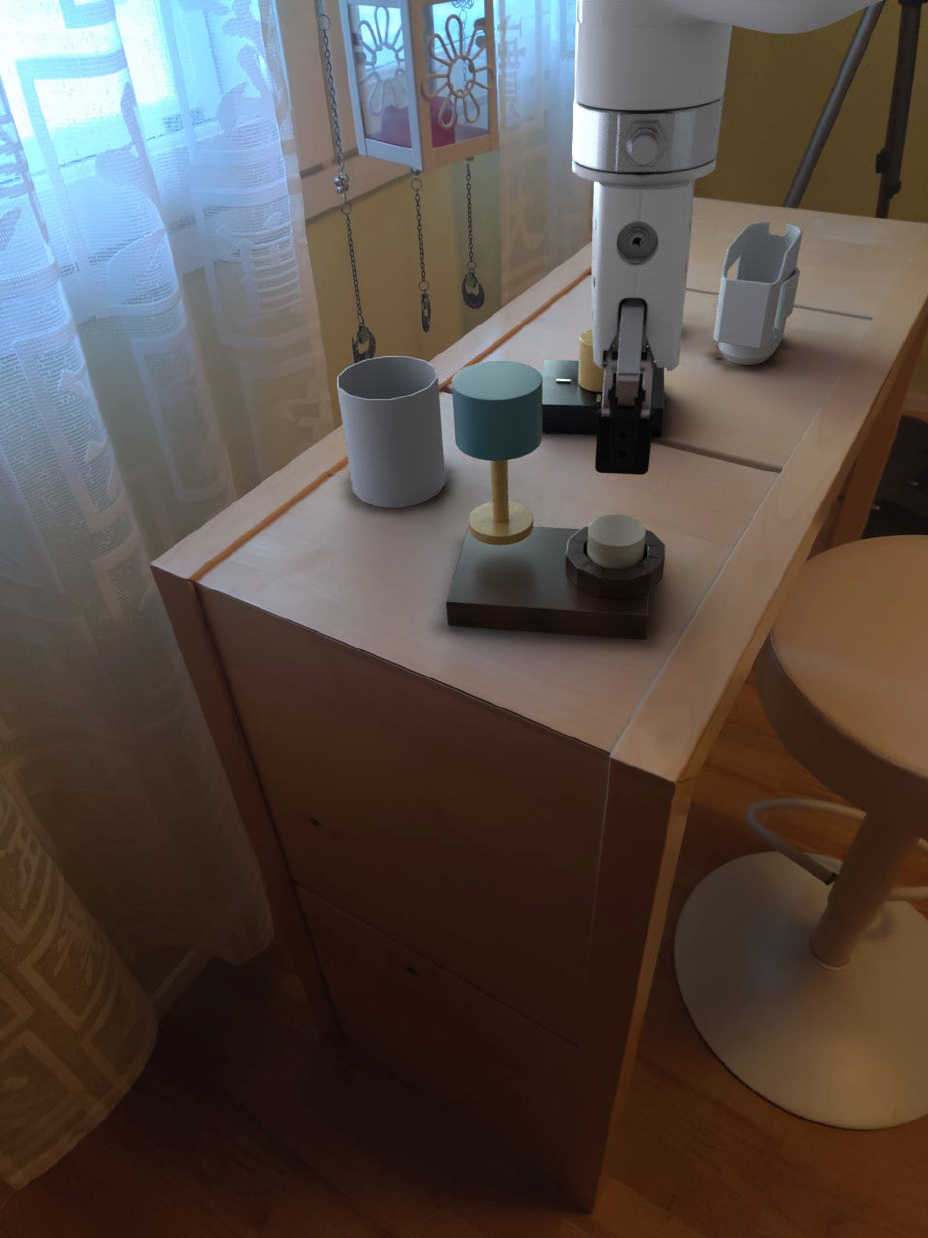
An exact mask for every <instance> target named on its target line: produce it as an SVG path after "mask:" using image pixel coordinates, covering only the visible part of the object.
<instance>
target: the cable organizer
mask: <svg viewBox="0 0 928 1238" xmlns="http://www.w3.org/2000/svg"><path fill="white" fill-rule="evenodd" d="M770 224H771V222H770V221H759V222H754V223H750V224H747V225H745V226H744V227H743V229H742V230H741V231H740V232H739V233H738V235H737V236H736V237H735V238H734V239H733V240H732V242H731V243H730V244H729V245H728V246H727V250H726V254H725V258H724V262H723V265H722V271H721V277H720V284H719V293H718V302H717V308H716V315H715V323H714V330H713V340H715V342H717V343H718V349H719V350H720V352H721V353H722V355H723V356H724V357H725V358H726V360H728V362H730V363H733V364H737V365H743V366H753V365H758V364H762V363H764V362H765V361H766V360H768V359H769V358H770V357H771V356H772V355H773V354H774V353H775V351H776V350H777V348H778V346H779V345H780V343H781V341H782V339H783V338H784V336H785V335H784V334H785V329H786V324H787V318H788V317H790V316H791V315H792V314H793V311H794V306H795V300H796V297H797V296H796V295H797V291H798V290H797V289H798V285H799V279H800V275H801V271H800V268H799V267H797V265H798V260H799V254H800V248H801V244H802V243H801V242H802V238H803V229H802V228H801V227H800V226H798V225H795V224H793V223H789V222H788V223H787V224H786V226H785V227H786V228H785V233H783V234H782V235H781V234H772V233H771V232H770ZM736 262H737V263H736ZM735 263H736V271H735V276H734V277H735V278H728V272H729V270H730V269H731V267H732V266H733V265H734V264H735Z"/></svg>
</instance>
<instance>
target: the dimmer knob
mask: <svg viewBox="0 0 928 1238" xmlns="http://www.w3.org/2000/svg"><path fill="white" fill-rule="evenodd" d="M578 345H579V347H578V361H579V373H578V383H579V385H580V386H581V387H582V388H584V389H587V390H590V391H595V392H603V382H604V367H603V369H601V368H599V367H598V366H597V365H596V364H595V363H594V359H593V334H592V328H591V329H588V330H586V331H584V332H582V333H581V334H580V335H579V343H578Z"/></svg>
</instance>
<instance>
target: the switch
mask: <svg viewBox="0 0 928 1238" xmlns="http://www.w3.org/2000/svg"><path fill="white" fill-rule="evenodd" d="M588 526H589V527H588V542H587V555H588V558H589V559H590V560H591V562H593V563H595V564H597V565H599V566H602V567H604V568H616V569H625V568H628V567H632V566H636V565H637V564H639V563H640V562H641V560H642V559H643V556H644V546H645V536H646V530H647V529H646V527H645V526H644V524H643V522H641V520H638V519H637V518H635V517H633V516H630V515H625V514H606V515H601V516H598V517H597V518H595V519H593V520H592V521H591V522H590V523H589V525H588ZM645 529H646V530H645Z"/></svg>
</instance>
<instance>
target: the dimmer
mask: <svg viewBox="0 0 928 1238" xmlns="http://www.w3.org/2000/svg"><path fill="white" fill-rule="evenodd" d="M578 373H579V360H573V359H571V360H569V359H568V360H567V359H565V360H564V359H544V361H543V364H542V368H541V372H540V374H541V376H542V379H543V383H542V434H560V435H561V434H562V435H587V436H589V435H590V436H597V416H598V409H602V397H603V392H595V391H590V390H587V389H584V388H582V387H581V386H580V385H579V383H578ZM650 411H654V415H653V426H652V437H651V438H662V433H663V425H664V414H665V368H657V366H656V363H655V361H654V370H653V379H652V391H651V404H650Z"/></svg>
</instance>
